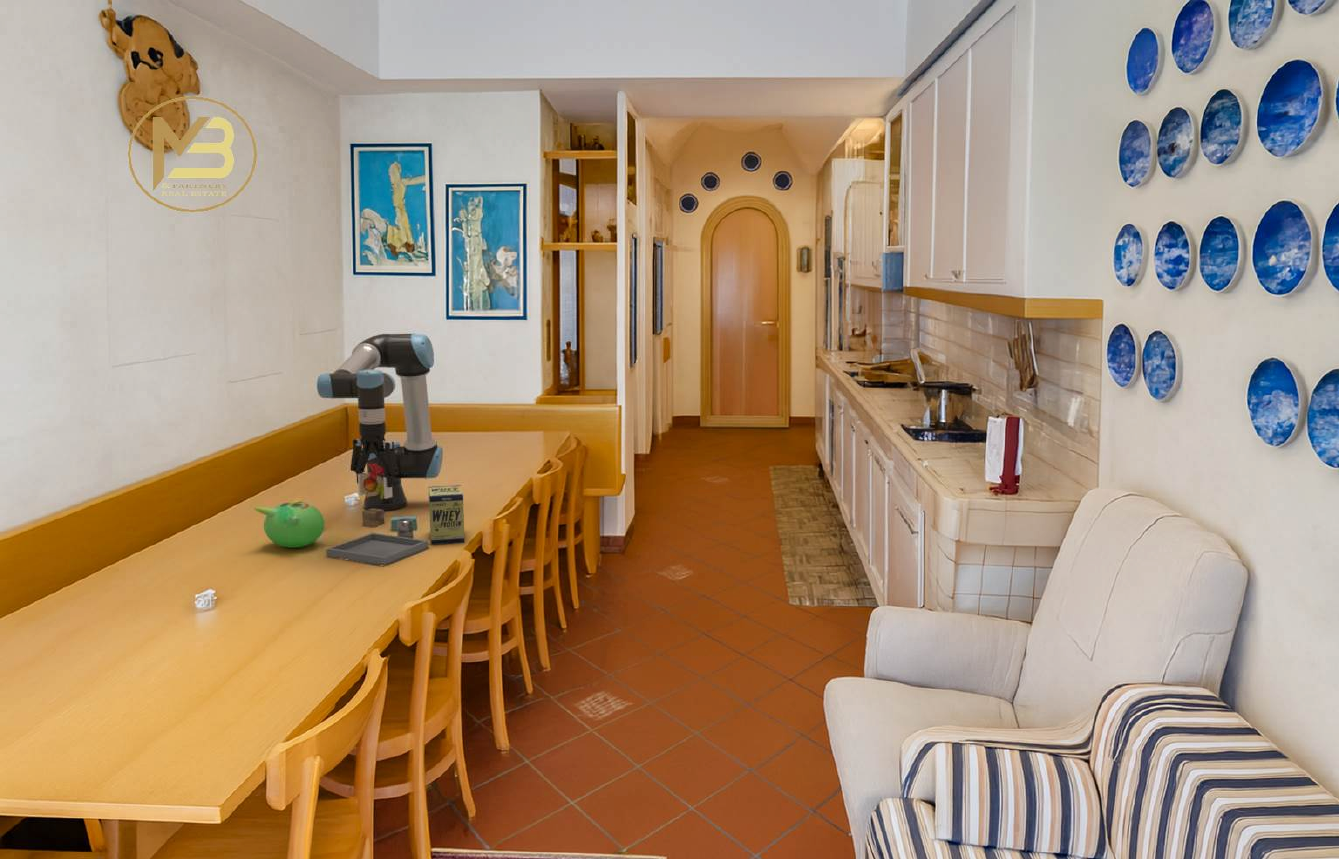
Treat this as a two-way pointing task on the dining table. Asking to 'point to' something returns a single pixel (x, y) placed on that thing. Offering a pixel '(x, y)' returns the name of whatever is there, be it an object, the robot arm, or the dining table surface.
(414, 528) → the teal brick
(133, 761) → the dining table surface
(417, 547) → the tray
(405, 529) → the metal cylinder
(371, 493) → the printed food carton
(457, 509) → the protein box
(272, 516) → the green rounded blob
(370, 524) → the walnut cube
